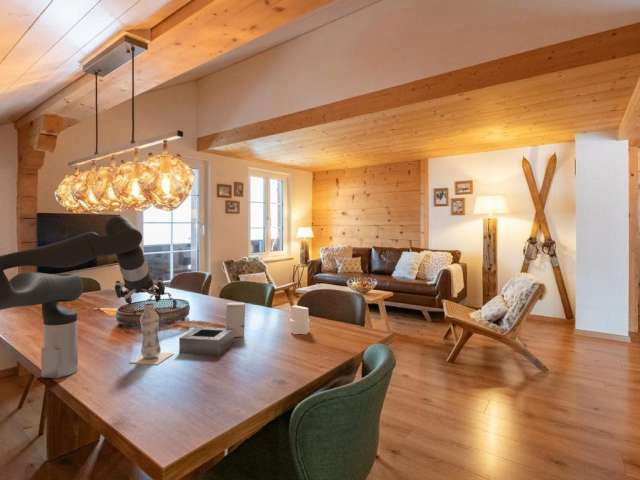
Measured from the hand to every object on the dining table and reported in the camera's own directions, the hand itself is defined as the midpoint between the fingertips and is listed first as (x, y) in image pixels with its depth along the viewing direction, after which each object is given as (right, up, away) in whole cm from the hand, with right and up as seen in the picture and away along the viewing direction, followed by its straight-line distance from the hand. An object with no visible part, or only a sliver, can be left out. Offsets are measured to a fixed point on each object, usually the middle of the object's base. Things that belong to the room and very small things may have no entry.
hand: (144, 301), depth 125 cm
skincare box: (+21, -23, +42) cm, 52 cm away
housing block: (+14, -23, +25) cm, 37 cm away
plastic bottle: (-3, -23, +12) cm, 26 cm away
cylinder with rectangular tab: (+50, -23, +48) cm, 74 cm away
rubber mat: (-3, -23, +12) cm, 27 cm away
